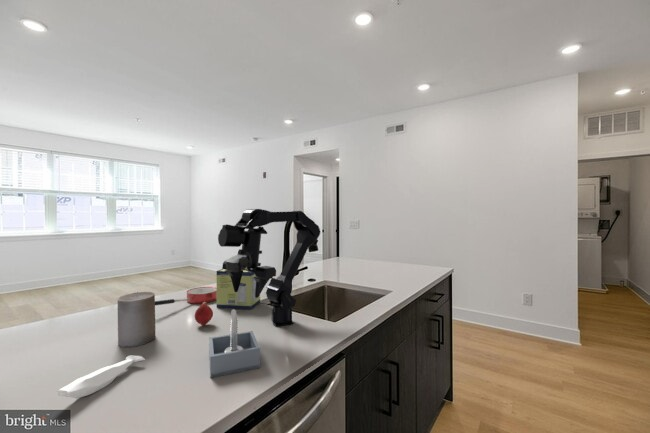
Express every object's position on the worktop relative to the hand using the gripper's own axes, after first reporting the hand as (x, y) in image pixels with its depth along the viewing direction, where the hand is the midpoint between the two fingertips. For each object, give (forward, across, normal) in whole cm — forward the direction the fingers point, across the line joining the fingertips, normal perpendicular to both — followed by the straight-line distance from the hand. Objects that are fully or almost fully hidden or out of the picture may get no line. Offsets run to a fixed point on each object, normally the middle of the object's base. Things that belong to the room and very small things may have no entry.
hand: (246, 294), depth 94 cm
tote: (+13, +11, -14) cm, 22 cm away
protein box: (+13, -23, +21) cm, 34 cm away
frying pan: (+15, -41, +10) cm, 45 cm away
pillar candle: (+16, -24, -19) cm, 35 cm away
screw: (+12, +11, -14) cm, 22 cm away
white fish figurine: (+16, -7, -36) cm, 40 cm away
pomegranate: (+14, -17, -1) cm, 22 cm away
